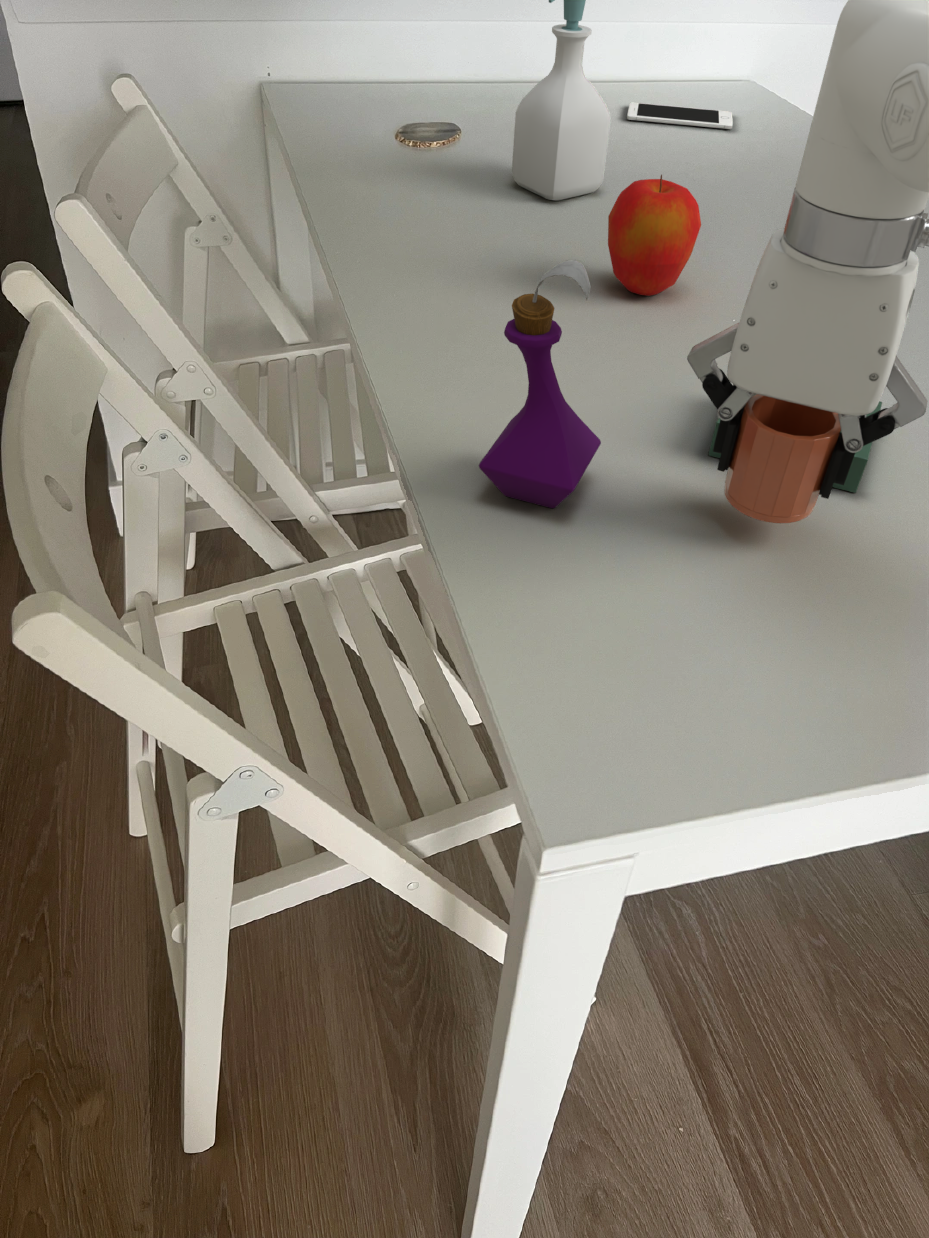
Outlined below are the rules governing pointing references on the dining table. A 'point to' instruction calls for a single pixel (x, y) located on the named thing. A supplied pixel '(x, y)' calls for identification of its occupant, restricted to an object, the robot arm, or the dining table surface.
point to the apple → (652, 234)
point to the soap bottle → (562, 122)
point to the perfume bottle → (541, 411)
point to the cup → (780, 459)
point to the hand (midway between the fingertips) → (775, 473)
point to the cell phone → (680, 115)
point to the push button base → (855, 468)
